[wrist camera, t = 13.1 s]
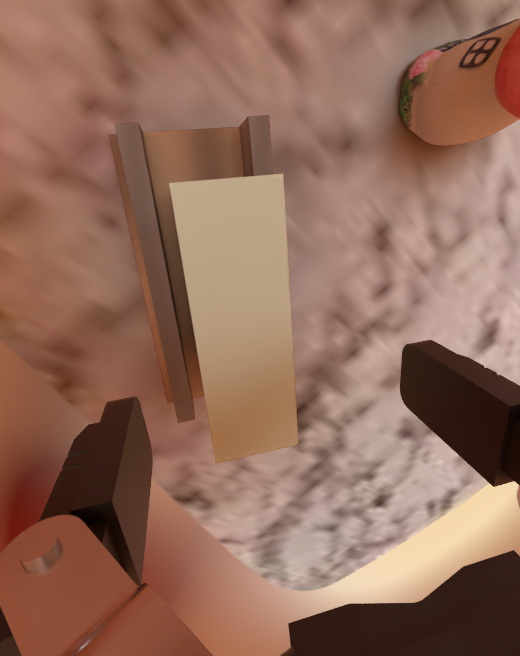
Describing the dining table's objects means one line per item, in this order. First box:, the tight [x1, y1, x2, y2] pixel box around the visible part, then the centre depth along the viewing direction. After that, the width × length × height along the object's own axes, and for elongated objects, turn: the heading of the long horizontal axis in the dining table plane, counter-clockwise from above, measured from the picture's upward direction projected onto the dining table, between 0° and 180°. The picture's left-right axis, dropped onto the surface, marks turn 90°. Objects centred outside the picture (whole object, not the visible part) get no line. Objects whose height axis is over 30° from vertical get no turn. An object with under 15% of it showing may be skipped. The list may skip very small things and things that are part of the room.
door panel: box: [169, 174, 298, 464], centre depth 20 cm, size 4×12×12 cm, turn 5°
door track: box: [109, 115, 273, 423], centre depth 24 cm, size 10×19×4 cm, turn 5°
